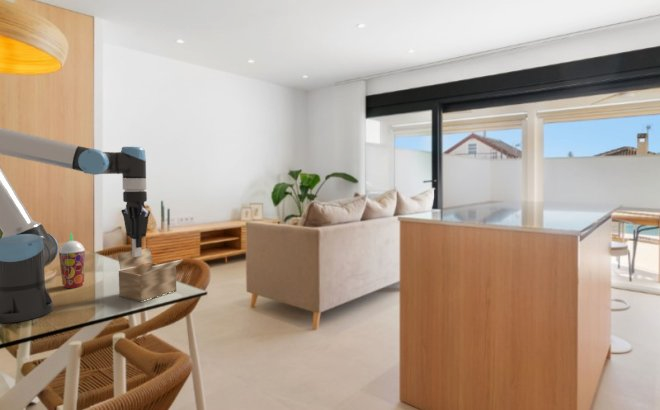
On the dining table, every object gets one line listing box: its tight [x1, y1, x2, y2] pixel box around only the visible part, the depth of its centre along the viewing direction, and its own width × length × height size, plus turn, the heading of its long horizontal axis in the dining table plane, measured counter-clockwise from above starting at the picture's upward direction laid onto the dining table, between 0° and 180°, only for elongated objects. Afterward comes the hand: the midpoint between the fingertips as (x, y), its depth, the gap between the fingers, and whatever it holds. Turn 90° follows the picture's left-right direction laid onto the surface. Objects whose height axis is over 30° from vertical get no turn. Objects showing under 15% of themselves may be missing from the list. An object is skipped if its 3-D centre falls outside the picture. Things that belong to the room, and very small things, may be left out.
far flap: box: [117, 247, 154, 270], centre depth 142 cm, size 13×1×6 cm, turn 152°
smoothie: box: [58, 233, 86, 289], centre depth 147 cm, size 8×8×20 cm
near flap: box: [143, 258, 184, 275], centre depth 135 cm, size 13×1×6 cm
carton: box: [118, 262, 177, 302], centre depth 139 cm, size 14×12×9 cm
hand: (137, 256), depth 141 cm, fingers closed
